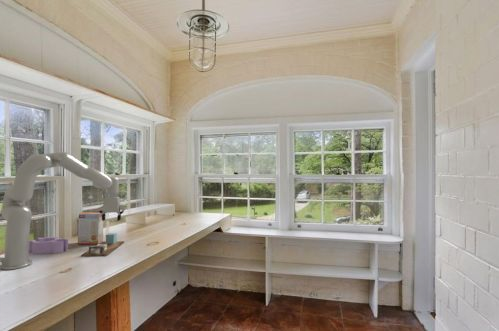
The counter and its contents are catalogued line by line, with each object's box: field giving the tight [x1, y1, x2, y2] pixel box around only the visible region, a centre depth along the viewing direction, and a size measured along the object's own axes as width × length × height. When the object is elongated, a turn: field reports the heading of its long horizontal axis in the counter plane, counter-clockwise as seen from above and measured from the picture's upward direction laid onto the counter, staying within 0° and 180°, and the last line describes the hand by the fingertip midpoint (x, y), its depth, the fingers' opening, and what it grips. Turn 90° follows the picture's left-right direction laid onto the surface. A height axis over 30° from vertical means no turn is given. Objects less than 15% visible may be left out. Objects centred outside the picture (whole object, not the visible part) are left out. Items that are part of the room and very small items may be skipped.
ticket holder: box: [81, 240, 125, 257], centre depth 168 cm, size 14×28×5 cm, turn 6°
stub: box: [105, 232, 118, 244], centre depth 178 cm, size 5×5×6 cm
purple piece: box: [29, 236, 69, 255], centre depth 161 cm, size 20×12×7 cm, turn 88°
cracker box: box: [77, 211, 104, 246], centre depth 179 cm, size 14×6×21 cm, turn 88°
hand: (111, 220), depth 177 cm, fingers open, 9 cm apart
